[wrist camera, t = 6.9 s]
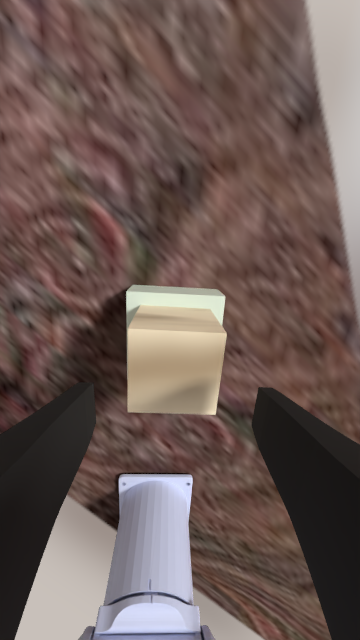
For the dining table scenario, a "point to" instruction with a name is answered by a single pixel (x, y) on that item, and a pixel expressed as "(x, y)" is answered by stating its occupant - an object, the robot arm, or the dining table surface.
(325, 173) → the dining table surface
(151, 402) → the maple cube
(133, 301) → the base block
